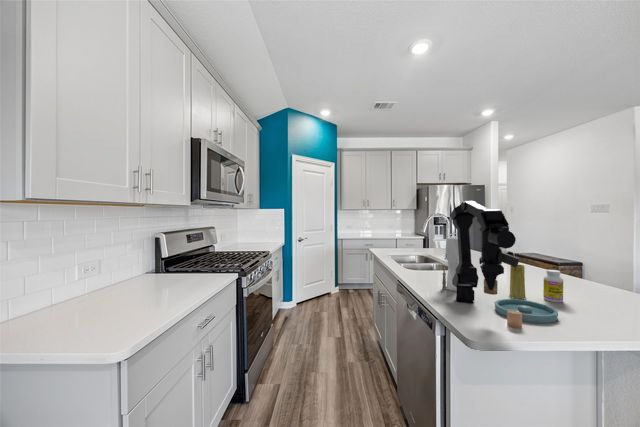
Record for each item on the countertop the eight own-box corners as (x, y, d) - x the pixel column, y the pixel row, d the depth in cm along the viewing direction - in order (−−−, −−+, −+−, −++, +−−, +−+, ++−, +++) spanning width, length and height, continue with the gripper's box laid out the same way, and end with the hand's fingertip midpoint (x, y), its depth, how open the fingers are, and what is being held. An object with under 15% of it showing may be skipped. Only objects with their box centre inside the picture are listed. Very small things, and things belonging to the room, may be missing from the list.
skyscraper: (448, 286, 151) (448, 232, 150) (465, 289, 145) (464, 233, 144) (441, 289, 145) (441, 233, 144) (458, 293, 139) (458, 234, 138)
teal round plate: (499, 318, 105) (499, 311, 105) (491, 302, 123) (491, 297, 123) (566, 326, 98) (566, 319, 98) (547, 308, 115) (547, 302, 115)
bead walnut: (484, 293, 103) (484, 280, 103) (483, 290, 107) (483, 278, 106) (498, 295, 101) (498, 282, 101) (496, 291, 105) (496, 279, 105)
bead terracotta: (508, 327, 98) (508, 313, 98) (506, 322, 102) (506, 309, 102) (523, 329, 96) (523, 315, 96) (520, 324, 100) (520, 311, 100)
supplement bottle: (546, 301, 124) (546, 271, 124) (541, 297, 130) (541, 268, 130) (566, 303, 121) (566, 272, 121) (559, 299, 127) (559, 269, 127)
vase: (528, 299, 127) (528, 266, 127) (512, 298, 128) (512, 266, 128) (521, 295, 133) (521, 264, 133) (506, 294, 134) (506, 263, 134)
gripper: (522, 249, 92) (522, 298, 92) (513, 242, 108) (513, 284, 109) (482, 247, 96) (482, 294, 97) (479, 241, 113) (479, 281, 113)
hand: (490, 288), depth 104 cm, fingers closed on bead walnut, 4 cm apart
